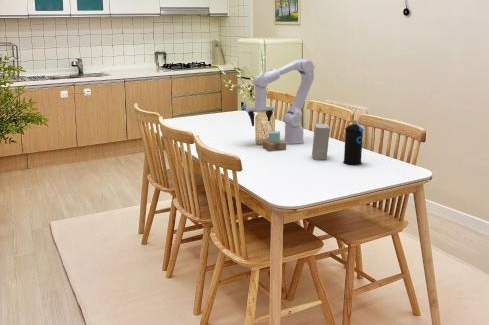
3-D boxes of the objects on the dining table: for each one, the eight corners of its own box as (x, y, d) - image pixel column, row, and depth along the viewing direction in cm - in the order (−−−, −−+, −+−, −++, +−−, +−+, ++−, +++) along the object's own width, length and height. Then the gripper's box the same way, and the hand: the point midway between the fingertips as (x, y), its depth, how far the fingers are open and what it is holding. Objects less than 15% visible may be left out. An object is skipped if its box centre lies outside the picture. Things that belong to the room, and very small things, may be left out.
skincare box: (311, 155, 254) (312, 123, 249) (326, 155, 254) (327, 123, 249) (313, 160, 246) (314, 126, 241) (328, 160, 245) (330, 126, 241)
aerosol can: (341, 164, 239) (343, 120, 233) (345, 159, 246) (347, 117, 241) (359, 166, 236) (362, 122, 230) (362, 161, 243) (365, 118, 238)
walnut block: (278, 146, 272) (279, 139, 271) (286, 150, 264) (286, 143, 263) (262, 148, 269) (262, 140, 268) (269, 152, 261) (269, 144, 260)
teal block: (279, 141, 267) (280, 131, 266) (278, 143, 262) (278, 133, 261) (270, 140, 268) (270, 130, 267) (268, 142, 263) (268, 133, 262)
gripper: (271, 97, 273) (271, 123, 276) (244, 98, 269) (244, 124, 273) (275, 99, 266) (275, 126, 270) (248, 100, 263) (247, 127, 266)
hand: (260, 125), depth 271 cm, fingers open, 7 cm apart
